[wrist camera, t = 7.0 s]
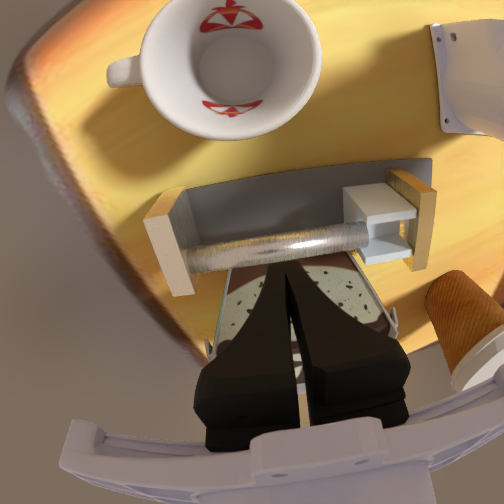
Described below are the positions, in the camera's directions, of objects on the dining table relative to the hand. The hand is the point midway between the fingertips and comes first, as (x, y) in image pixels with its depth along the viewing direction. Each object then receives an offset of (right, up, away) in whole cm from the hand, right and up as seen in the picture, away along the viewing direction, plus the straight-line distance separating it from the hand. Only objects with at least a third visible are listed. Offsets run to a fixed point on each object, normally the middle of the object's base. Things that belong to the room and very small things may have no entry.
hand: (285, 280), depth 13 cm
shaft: (-1, +4, +8) cm, 9 cm away
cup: (-4, +14, +4) cm, 15 cm away
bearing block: (+7, +5, +9) cm, 13 cm away
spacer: (+10, +4, +6) cm, 12 cm away
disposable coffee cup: (+21, -3, +15) cm, 26 cm away
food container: (+2, -1, +13) cm, 13 cm away
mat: (+3, +5, +9) cm, 11 cm away
